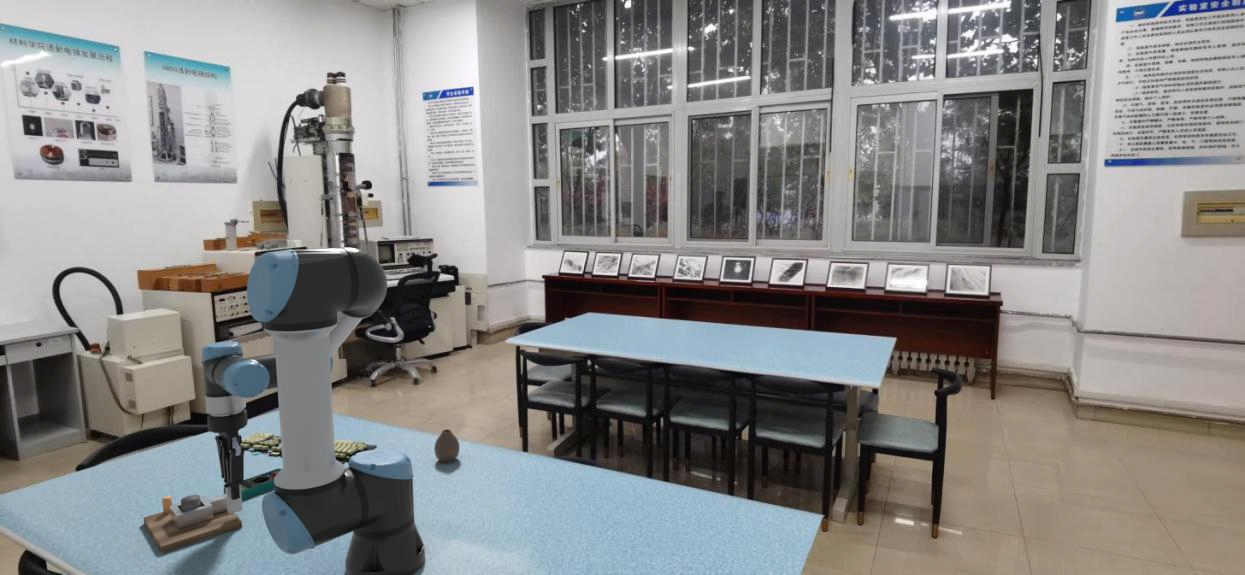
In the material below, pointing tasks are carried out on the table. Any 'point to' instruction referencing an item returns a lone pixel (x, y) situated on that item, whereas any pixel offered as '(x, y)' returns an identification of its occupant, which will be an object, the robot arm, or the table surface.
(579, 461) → the table surface
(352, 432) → the table surface
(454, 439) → the vase
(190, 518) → the grey frame piece
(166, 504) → the dowel pin
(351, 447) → the keyboard
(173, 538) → the board
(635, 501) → the table surface
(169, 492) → the table surface
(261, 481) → the digital multimeter
